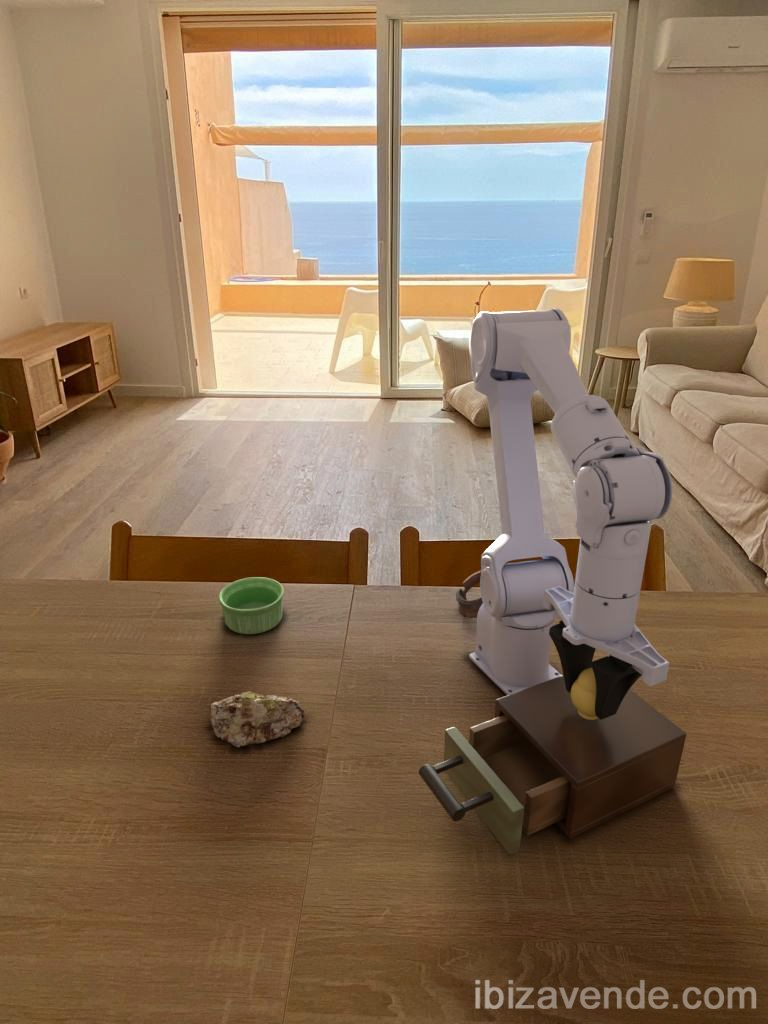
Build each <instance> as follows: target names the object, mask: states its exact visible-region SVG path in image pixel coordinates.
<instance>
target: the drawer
mask: <svg viewBox="0 0 768 1024" xmlns="http://www.w3.org/2000/svg"><path fill="white" fill-rule="evenodd" d="M468 736H469V737H468V740H467V739H466V738H465V736H464V735H463V734H462V733H461V732H460V731H459V729H457V727H455V726H453V727H450V728H447V729H445V730H444V744H443V745H444V747H443V748H444V749H443V750H444V751H443V762H440V763H437V764H435V765H431V764H430V763H425V764H423V765H422V766H420V767H419V770H418V775H419V776H420V778H421V779H422V781H423V782H424V783H425V785H426V786H427V787H428V789H429V790H430V791H431V792H432V794H433V796H434V798H436V800H437V801H438V802H439V804H440V805H441V806H442V808H443V809H444V811H445V812H446V814H447V815H448V816H449V818H450V819H451V820H452V822H459V821H461V820H462V819H463V818H464V817H465V815H466V813H467V812H469V811H472V810H474V811H475V812H476V814H477V815H478V816H479V818H480V819H481V821H483V823H484V824H485V825H486V827H487V828H488V829H489V830H490V832H491V833H492V835H493V836H494V837H495V839H496V840H497V841H498V842H499V843H500V845H501V846H502V847H503V849H504V850H505V852H507V854H508V855H509V856H510V855H512V854H514V853H517V852H518V851H520V850H521V841H522V832H523V833H524V834H525V835H526V836H527V837H529V836H531V835H533V834H535V833H537V832H539V831H541V830H543V829H545V828H547V827H549V826H552V825H553V824H556V822H558V821H560V820H562V819H564V818H566V817H567V810H568V803H569V796H570V789H571V784H572V783H571V782H570V781H569V780H568V779H567V778H566V777H565V776H564V775H563V774H562V773H561V772H560V771H559V770H558V769H557V768H556V767H555V766H554V765H553V764H552V763H551V762H550V761H549V760H548V759H547V758H546V757H545V756H544V755H543V754H542V753H541V752H540V750H539V749H538V748H537V747H536V746H535V745H534V744H533V743H532V742H531V741H530V740H529V739H528V738H527V737H526V736H525V735H524V734H523V733H522V732H521V731H520V730H519V729H518V728H517V727H516V726H515V725H514V724H513V723H512V722H511V721H510V720H509V719H508V718H507V717H506V716H505V715H503V716H500V717H498V718H495V717H494V718H493V719H490V720H487V721H485V722H482V723H479V724H477V725H474V726H471V727H470V728H469V734H468ZM443 772H444V773H445V774H446V775H447V777H448V778H449V779H450V780H451V781H452V783H453V784H454V785H455V787H456V788H457V789H458V791H459V792H460V793H461V794H462V796H463V797H464V799H466V801H464V802H462V803H461V802H459V800H458V799H457V797H456V796H455V795H454V794H453V792H452V791H451V789H450V788H449V787H448V785H446V783H445V782H444V780H443V779H442V777H440V775H439V774H440V773H443Z"/></svg>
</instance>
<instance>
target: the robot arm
mask: <svg viewBox="0 0 768 1024" xmlns="http://www.w3.org/2000/svg"><path fill="white" fill-rule="evenodd" d="M470 328H471V329H470V334H469V340H468V348H469V349H468V351H469V359H470V369H471V378H472V380H473V386H474V390H475V391H476V392H478V393H481V394H482V395H484V396H486V401H487V408H488V415H489V424H490V434H491V435H490V436H491V444H492V454H493V463H494V474H495V482H496V483H495V484H496V493H497V501H498V511H499V520H500V531H501V532H500V533H501V535H499V537H498V538H497V539H496V540H495V541H494V542H493V543H491V545H489V546H488V548H486V549H485V550H484V552H482V554H481V559H480V567H481V568H480V570H481V577H480V582H479V591H480V598H481V597H482V601H483V604H482V605H481V607H480V609H479V611H478V615H477V618H476V631H475V647H474V648H475V650H474V652H471V653H469V654H468V656H469V657H468V658H469V659H470V660H471V661H472V663H473V664H475V665H476V666H477V667H478V668H479V669H480V670H481V671H482V672H483V673H484V674H485V675H486V676H487V677H488V678H489V679H490V680H491V681H492V682H493V683H494V684H495V685H496V686H497V687H498V688H499V689H500V690H501V691H502V692H503V693H504V694H506V696H507V695H510V694H513V693H516V692H518V691H521V690H524V689H526V688H529V687H532V686H535V685H537V684H540V683H543V682H545V681H548V680H551V679H554V678H556V677H559V676H562V675H564V681H565V686H566V690H567V691H568V692H569V693H571V688H572V685H573V683H574V682H575V681H576V680H577V679H578V677H579V675H580V673H581V672H582V671H584V670H585V669H588V668H591V667H592V669H593V672H594V676H595V681H596V701H595V714H596V716H597V717H598V718H599V719H600V720H603V719H605V718H607V717H610V716H612V715H615V714H616V712H617V710H618V708H619V706H620V704H621V702H622V700H623V699H624V697H625V695H626V694H627V692H628V691H629V689H630V690H631V688H632V687H633V685H634V684H635V683H636V682H637V681H638V680H639V679H640V677H641V681H642V682H643V684H645V685H647V686H648V687H653V686H656V685H658V684H661V683H663V682H665V681H667V678H668V673H669V668H670V661H668V660H667V659H666V658H664V657H663V656H662V655H661V654H660V653H659V652H658V651H657V650H656V649H655V647H654V646H653V645H652V643H651V642H650V641H649V640H648V639H647V637H646V636H645V634H644V633H643V632H642V631H641V630H640V629H639V627H638V626H637V625H636V617H637V612H638V607H639V601H640V594H641V590H642V583H643V578H644V577H643V576H644V571H645V567H646V560H647V555H648V548H649V542H650V536H651V530H652V525H653V523H652V521H654V520H659V519H662V518H663V517H665V515H667V514H668V511H669V510H670V508H671V505H672V502H673V501H672V500H673V493H674V491H673V490H674V489H673V482H672V476H671V473H670V471H669V468H668V467H667V465H666V462H665V460H664V458H662V457H661V455H659V454H658V453H656V452H652V451H647V450H646V449H645V447H644V446H637V445H635V444H634V442H633V441H632V439H631V437H630V436H629V434H628V433H627V431H626V430H625V428H624V426H623V424H622V423H621V422H620V420H619V418H618V417H617V415H616V414H615V412H614V411H613V409H612V407H611V406H610V404H609V402H608V401H607V400H606V399H605V398H604V397H602V396H599V395H595V394H589V393H588V390H587V388H586V386H585V384H584V381H583V380H582V377H581V375H580V373H579V371H578V369H577V367H576V365H575V362H574V360H573V358H572V355H571V354H570V351H571V342H572V330H571V329H572V328H571V324H570V323H569V320H568V318H567V316H566V314H565V313H564V312H563V311H562V310H561V309H560V308H559V307H558V308H557V307H555V308H553V307H552V308H550V309H544V310H541V309H540V310H522V311H520V310H517V311H500V312H499V311H497V312H490V311H486V310H485V311H484V310H483V311H480V312H479V313H478V314H477V315H476V317H475V319H473V321H472V325H471V327H470ZM537 391H538V393H540V395H541V397H542V398H543V399H544V401H545V402H546V404H547V405H548V407H549V408H550V409H551V411H552V412H553V413H554V415H553V417H552V419H551V423H550V432H551V434H552V436H553V438H554V440H555V442H556V444H557V446H558V447H559V450H560V451H561V454H562V455H563V457H564V459H565V462H566V463H567V465H568V467H569V468H570V470H571V473H572V474H573V476H574V478H575V479H574V480H573V482H572V494H573V502H574V506H575V513H576V515H575V528H576V535H577V536H578V537H579V538H580V539H579V545H578V546H579V547H578V555H577V563H576V571H575V578H574V576H573V572H572V570H571V568H570V565H569V561H568V557H567V555H568V554H567V551H566V548H565V547H564V546H563V545H562V544H561V543H560V542H558V541H557V540H555V539H553V538H552V537H550V536H549V535H547V534H546V533H545V527H544V519H543V517H544V516H543V508H542V507H543V506H542V500H541V498H542V497H541V489H540V478H539V470H538V469H539V467H538V460H537V459H538V458H537V449H536V441H535V430H534V421H533V410H532V398H533V396H534V394H535V393H536V392H537ZM532 558H533V560H526V559H532ZM534 558H539V559H534ZM540 558H542V559H540ZM524 559H525V561H518V560H524ZM516 560H517V562H511V561H516ZM556 619H560V620H559V622H558V623H557V624H555V620H556ZM552 643H553V644H554V647H555V650H556V651H557V654H558V657H559V661H560V664H561V668H562V669H561V670H562V674H561V673H560V672H559V671H558V670H557V669H556V668H555V667H553V665H551V664H550V661H551V651H552ZM596 650H598V651H600V652H602V653H605V654H607V656H604V657H601V658H599V659H596V660H593V659H594V656H595V653H596ZM608 655H609V656H608Z"/></svg>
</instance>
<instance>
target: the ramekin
mask: <svg viewBox="0 0 768 1024" xmlns="http://www.w3.org/2000/svg"><path fill="white" fill-rule="evenodd" d="M284 595H285V590H284V587H283V585H282V584H281V583H280V582H279V581H277V580H275V579H273V578H269V577H262V576H253V577H252V576H251V577H245V578H241V579H238V580H235V581H232V582H230V583H228V584H226V585H225V587H223V588H222V589H221V590H220V592H219V594H218V601H219V604H220V606H221V609H222V613H223V618H224V622H225V625H226V626H227V627H228V628H229V629H230V630H231V631H232V632H235V633H237V634H242V635H243V634H244V635H255V634H256V635H257V634H262V633H265V632H268V631H270V630H272V629H273V628H275V627H277V626H278V625H279V624H280V622H281V621H282V619H283V613H284V612H283V609H284V608H283V607H284V606H283V604H284V603H283V602H284V600H283V599H284Z"/></svg>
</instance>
